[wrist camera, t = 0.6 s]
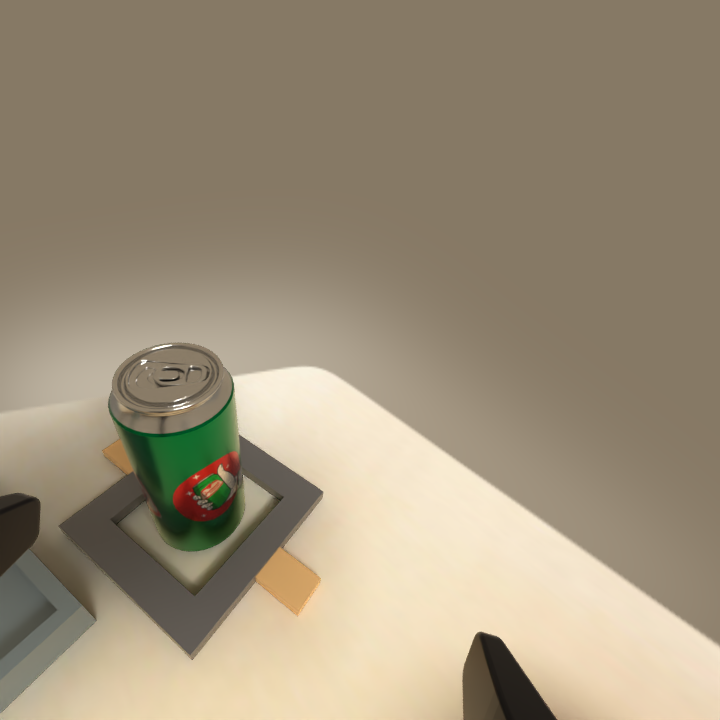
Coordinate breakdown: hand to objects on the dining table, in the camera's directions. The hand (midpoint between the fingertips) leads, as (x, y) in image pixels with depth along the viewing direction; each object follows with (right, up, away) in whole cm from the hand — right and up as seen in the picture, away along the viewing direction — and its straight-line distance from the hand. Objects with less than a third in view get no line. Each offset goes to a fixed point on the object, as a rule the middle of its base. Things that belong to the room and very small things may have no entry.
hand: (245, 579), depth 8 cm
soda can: (-8, -5, +17) cm, 19 cm away
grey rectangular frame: (-8, -5, +17) cm, 19 cm away
